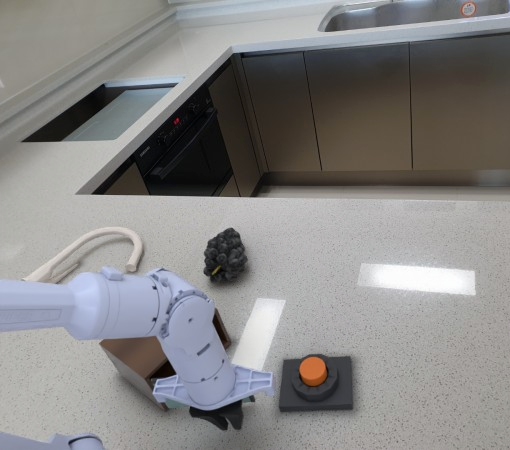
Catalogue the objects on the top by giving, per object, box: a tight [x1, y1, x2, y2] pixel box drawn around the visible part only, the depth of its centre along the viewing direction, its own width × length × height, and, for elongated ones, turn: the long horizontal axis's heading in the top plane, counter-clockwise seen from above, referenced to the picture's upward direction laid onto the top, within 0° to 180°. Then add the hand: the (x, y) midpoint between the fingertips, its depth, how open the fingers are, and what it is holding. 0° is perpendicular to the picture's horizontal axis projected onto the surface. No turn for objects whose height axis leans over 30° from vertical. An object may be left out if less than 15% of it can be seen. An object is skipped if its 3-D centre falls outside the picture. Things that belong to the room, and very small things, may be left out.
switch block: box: [278, 353, 354, 412], centre depth 65 cm, size 10×8×3 cm
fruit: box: [202, 227, 249, 284], centre depth 88 cm, size 9×8×15 cm
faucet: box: [20, 226, 144, 284], centre depth 95 cm, size 5×18×21 cm
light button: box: [300, 357, 327, 386], centre depth 64 cm, size 4×4×2 cm
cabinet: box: [98, 307, 233, 412], centre depth 71 cm, size 12×14×8 cm
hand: (232, 422), depth 60 cm, fingers closed
